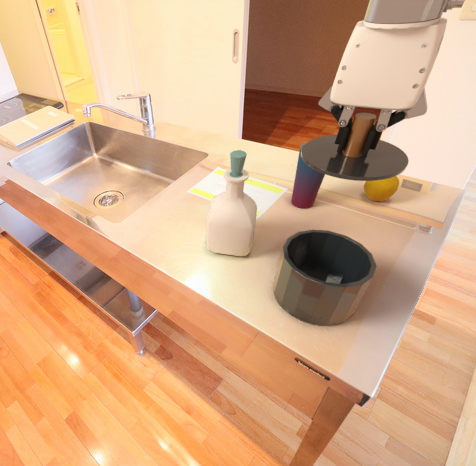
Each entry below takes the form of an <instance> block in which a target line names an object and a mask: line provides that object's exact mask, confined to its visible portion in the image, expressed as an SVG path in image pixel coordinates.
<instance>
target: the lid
mask: <svg viewBox="0 0 476 466" xmlns="http://www.w3.org/2000/svg"><path fill="white" fill-rule="evenodd" d="M376 119H377V115H376V114H374V113H371V112H358V113H355V115H354V116H353V120H352V125H351V129H350V132H349V135H348V138H347V141H346V144H345V147H344V149H343V151H342V152H337V149H338V146H339V144H335V140H336V137H337V134H329V135H324V136H319V137H316V138H313V139H311V140H308V141H307V142H305V143H306V144H305V145H304V146H303V148H302V150H301V157H302V160H303V161H304V162H305V163H306V164H307V165H308V166H309V167H311V168H312V169H314V170H316V171H318V172H320V173H323V174H325V176H329V177H333V178H337V179H342V180H348V181H357V182H358V181H359V182H360V181H361V182H366V181H375V180H383V179H388V178H392V177H395V176H397V177H398V176H399V175H401V174H402V173H404V172H405V171H406V169H407V167H408V165H409V161H410V160H409V157H408V155H407V154H406V152H405V151H404V150H403V149H401V148H399V147H398V146H397V145H395V144H393V143H390V142H388V141H385V140H382V139H379V141H378V144H377V146H376V149H375V150H372V149H369V152H368V154H367V156H366V157H365V156H363V155H361V154H362V151H363V149H364V146H365V144H366V141H367V138H368V136H369V133H370V131H371V129H372V127H373V125H375V123H376Z"/></svg>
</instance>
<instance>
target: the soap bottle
mask: <svg viewBox="0 0 476 466" xmlns="http://www.w3.org/2000/svg"><path fill="white" fill-rule="evenodd" d="M247 155H248V153H247V152H246V151H245V150H241V149H237V150H233V151H231V152H230V153H229V156H230V168H229V169H227V170H225V171H224V173H223V179H224V180H225V181H226V185H225V190H224V191H222V192H221V193H219V194H218V195H215V197H213V198H212V200H211V202H210V203H209V210H208V213H207V217H206V231H205V232H206V233H205V245H206V248H207V250H208V251H209V252H211V253H215V254H221V255H228V256H229V255H230V256H236V257H246V256H248V254H250V252H251V251H252V248H253V242H254V236H255V229H256V222H257V212H258V205H257V203H256V201H255V200H254V199H253V198H252V197H251V196H250V195H248V194H247V193H245V192H244V188H245V182H246V181H248V180H249V177H250V173H249V172H248V171H247V170H246V169H244V166H245V162H246V159H247Z"/></svg>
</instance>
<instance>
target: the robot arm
mask: <svg viewBox="0 0 476 466" xmlns="http://www.w3.org/2000/svg"><path fill="white" fill-rule="evenodd" d="M465 1H466V0H368V4H367V6H366V11H365V14H364V17H363V20H360V21H358V22H356V24H355V26H354V29H353V30H352V32H351V35H350V37H349V39H348V41H347V44H346V46H345V49H344V52H343V54H342V57H341V59H340V63H339V65H338V68H337V71H336V73H335V78H334V80H333V83H332V85H331V86H330V87H329V88H328V90H327V91H326V92H325V93H324V94H323V96H322V97H321V98H320V99H319V100H318V103H317V104H318V106H319V107H321V108H322V109H324V110H326V111H328V112H330V113H331V115H332V116H333V118H334V119H335V120H336V122H337V125H338V127H339V128H338V131H337V134H336V135H337V137H336V140H335V144H339V146H338V149H337V152H342V151H343V149H344V147H345V144H346V141H347V138H348V135H349V132H350V129H351V125H352V122H353V120H354V118H353V117H352V116H353V114H354V112H355V109H356V108H363V109H364V108H365V109H376V110H380V113H379V116H378V119H377V120H375V122H374V124H373V127H372V129H371V131H370V133H369V136H368V138H367V141H366V144H365V146H364V149H363V151H362V154H361V155H363V156H365V157H366V156H367V154H368V152H369V149H372V150H375V149H376V146H377V144H378V141H379V140H381V139H380V138H381V136H382V133H383V132H384V131H386V130H387V129H388V128H390V127H392V126H394V125H397V124H398V123H400V122H402V121H404V120H409V119H413V118H416V117H421V116H424V115H426V113H427V112H428V101H427V94H426V85H427V83H428V80H429V78H430V75H431V72H432V70H433V68H434V65H435V62H436V59H437V56H438V54H439V52H440V49H441V45H442V43H443V40H444V36H445V32H446V28H447V24H448V19H447V18H446V17H442V15H443V14H444V13H447V12H448V11H451V10H453V9H461V8H462V7H463V5H464V4H465Z"/></svg>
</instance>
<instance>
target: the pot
mask: <svg viewBox="0 0 476 466" xmlns="http://www.w3.org/2000/svg"><path fill="white" fill-rule="evenodd" d="M278 260H279V261H278V264H277V268H276V272H275V276H274V280H273V282H272V283H273V284H272V285H273V289H272V290H273V295H274V298H275V300H276V302H277V303H278V305H279V306H280V307H281V308H282V309H283V311H285V312H286V313H287V314H288V315H290V316H292V318H295V319H297V320H299V321H301V322H303V323H306V324H309V325H312V326H313V325H314V326H320V327H330V326H336V325H340V324H342V323H345V322H346V321H348V320H349V318H351V316H353V315H354V313H355V311H356V309H357V308H358V306H359V304H360V302H361V300H362V298H363V296H364V295H365V293H366V291H367V289H369V286H370V284H371V282H372V280H373V278H374V277H375V273H376V270H377V263H376V260H375V258H374V255H373V254H372V253H371V252H370V251H369V250H368V249H367V247H365V246H364V244H362V243H361V242H359V241H357V240H355V239H353V238H351V237H350V236H348V235H345V234H343V233H340V232H339V233H338V232H335V231H332V230H328V229H327V230H326V229H324V230H323V229H308V230H307V229H306V230H302V231H301V230H300V231H298V232H296V233H294V234H293V235H291V236H289V237H287V239H286V241H285V242H284V244H283V245H282V249H281V253H280V257H279V259H278Z"/></svg>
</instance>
